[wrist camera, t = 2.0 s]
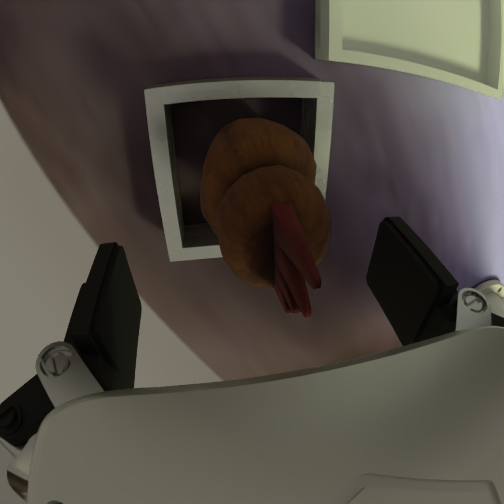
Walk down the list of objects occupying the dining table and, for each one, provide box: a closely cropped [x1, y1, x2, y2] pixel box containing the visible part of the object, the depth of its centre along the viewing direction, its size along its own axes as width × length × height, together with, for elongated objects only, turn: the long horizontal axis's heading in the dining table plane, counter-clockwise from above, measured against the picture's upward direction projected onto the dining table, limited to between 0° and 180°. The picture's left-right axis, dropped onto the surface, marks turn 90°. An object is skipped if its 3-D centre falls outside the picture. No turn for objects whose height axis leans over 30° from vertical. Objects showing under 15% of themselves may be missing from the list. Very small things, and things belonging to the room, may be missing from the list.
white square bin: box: [144, 77, 334, 262], centre depth 19 cm, size 10×11×3 cm
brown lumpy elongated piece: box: [200, 118, 331, 317], centre depth 14 cm, size 7×6×15 cm
